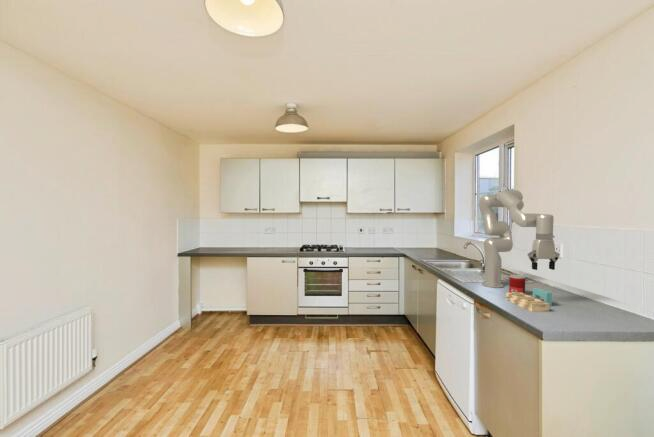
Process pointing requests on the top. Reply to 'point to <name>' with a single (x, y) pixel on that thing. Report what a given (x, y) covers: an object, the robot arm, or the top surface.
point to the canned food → (517, 284)
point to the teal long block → (543, 295)
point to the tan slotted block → (527, 302)
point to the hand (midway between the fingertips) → (543, 269)
